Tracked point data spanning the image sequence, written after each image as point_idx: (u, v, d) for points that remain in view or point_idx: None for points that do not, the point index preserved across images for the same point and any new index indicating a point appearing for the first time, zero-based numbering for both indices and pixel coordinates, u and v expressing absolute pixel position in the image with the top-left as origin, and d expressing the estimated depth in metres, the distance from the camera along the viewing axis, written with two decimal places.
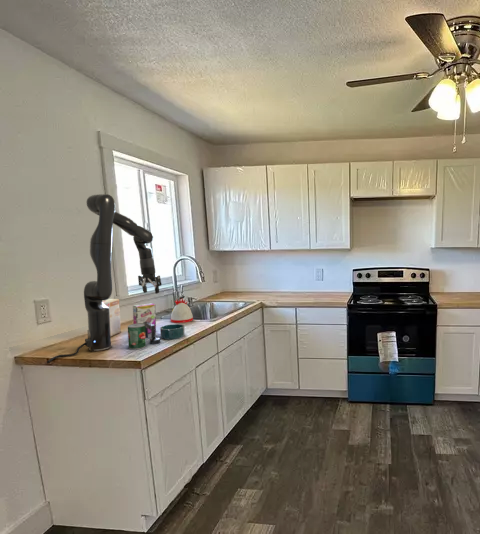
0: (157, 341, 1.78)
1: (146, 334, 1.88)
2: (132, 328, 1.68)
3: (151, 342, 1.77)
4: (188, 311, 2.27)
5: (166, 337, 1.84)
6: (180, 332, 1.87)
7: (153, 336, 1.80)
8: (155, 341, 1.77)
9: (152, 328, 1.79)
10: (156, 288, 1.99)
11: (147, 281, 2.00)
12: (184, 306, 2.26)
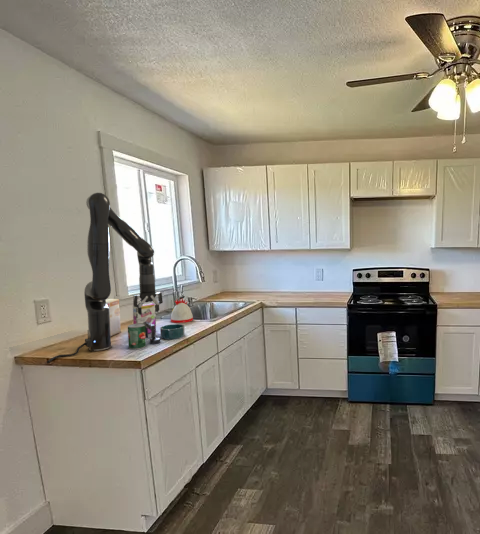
0: (157, 341, 1.78)
1: (146, 334, 1.88)
2: (132, 328, 1.68)
3: (151, 342, 1.77)
4: (188, 311, 2.27)
5: (166, 337, 1.84)
6: (180, 332, 1.87)
7: (153, 336, 1.80)
8: (155, 341, 1.77)
9: (152, 328, 1.79)
10: None
11: None
12: (184, 306, 2.26)
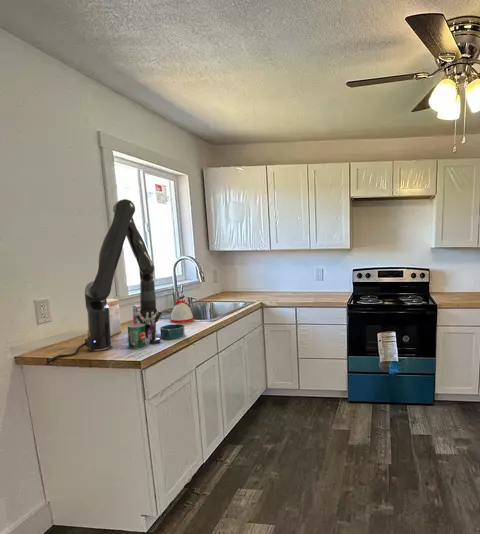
0: (157, 341, 1.78)
1: (146, 334, 1.88)
2: (132, 328, 1.68)
3: (151, 342, 1.77)
4: (188, 311, 2.27)
5: (166, 337, 1.84)
6: (180, 332, 1.87)
7: (153, 336, 1.80)
8: (155, 341, 1.77)
9: (152, 328, 1.79)
10: None
11: None
12: (184, 306, 2.26)
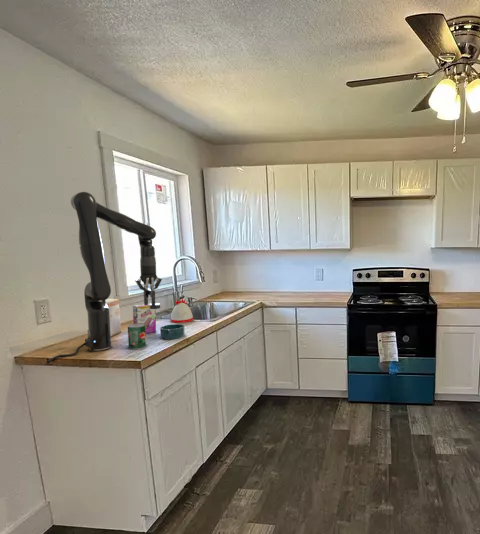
0: (157, 306, 1.77)
1: (146, 301, 1.88)
2: (132, 328, 1.68)
3: (151, 307, 1.76)
4: (188, 311, 2.27)
5: (166, 337, 1.84)
6: (180, 332, 1.87)
7: (153, 301, 1.79)
8: (155, 306, 1.76)
9: (152, 293, 1.79)
10: None
11: None
12: (184, 306, 2.26)
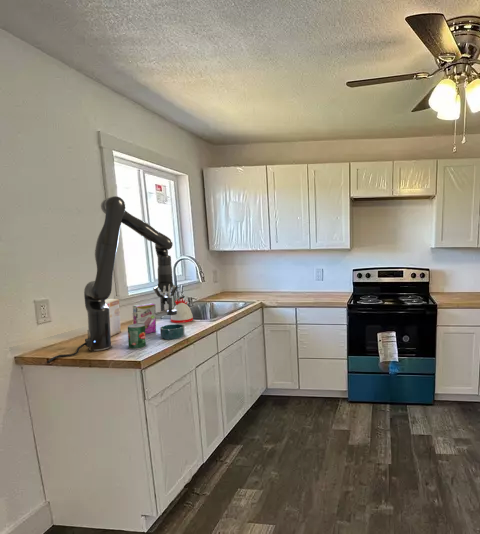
0: (174, 312, 1.88)
1: (163, 307, 1.99)
2: (132, 328, 1.68)
3: (168, 313, 1.87)
4: (188, 311, 2.27)
5: (166, 337, 1.84)
6: (180, 332, 1.87)
7: (170, 308, 1.90)
8: (172, 312, 1.87)
9: (169, 300, 1.90)
10: None
11: None
12: (184, 306, 2.26)
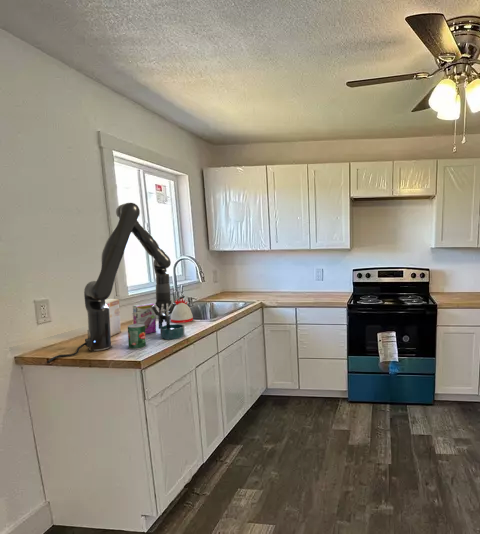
0: None
1: (161, 325, 1.99)
2: (132, 328, 1.68)
3: None
4: (188, 311, 2.27)
5: (166, 337, 1.84)
6: (180, 332, 1.87)
7: (168, 326, 1.91)
8: None
9: (167, 319, 1.90)
10: None
11: None
12: (184, 306, 2.26)
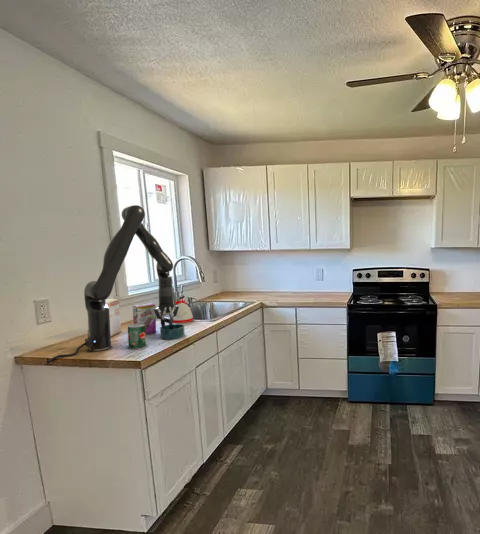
0: None
1: None
2: (132, 328, 1.68)
3: None
4: (188, 311, 2.27)
5: (166, 337, 1.84)
6: (180, 332, 1.87)
7: None
8: None
9: (170, 321, 1.91)
10: None
11: None
12: (184, 306, 2.26)
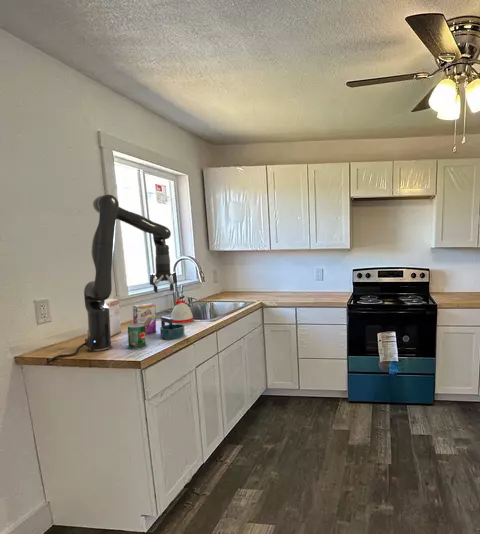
0: None
1: None
2: (132, 328, 1.68)
3: None
4: (188, 311, 2.27)
5: (166, 337, 1.84)
6: (180, 332, 1.87)
7: None
8: None
9: (170, 321, 1.91)
10: None
11: None
12: (184, 306, 2.26)
